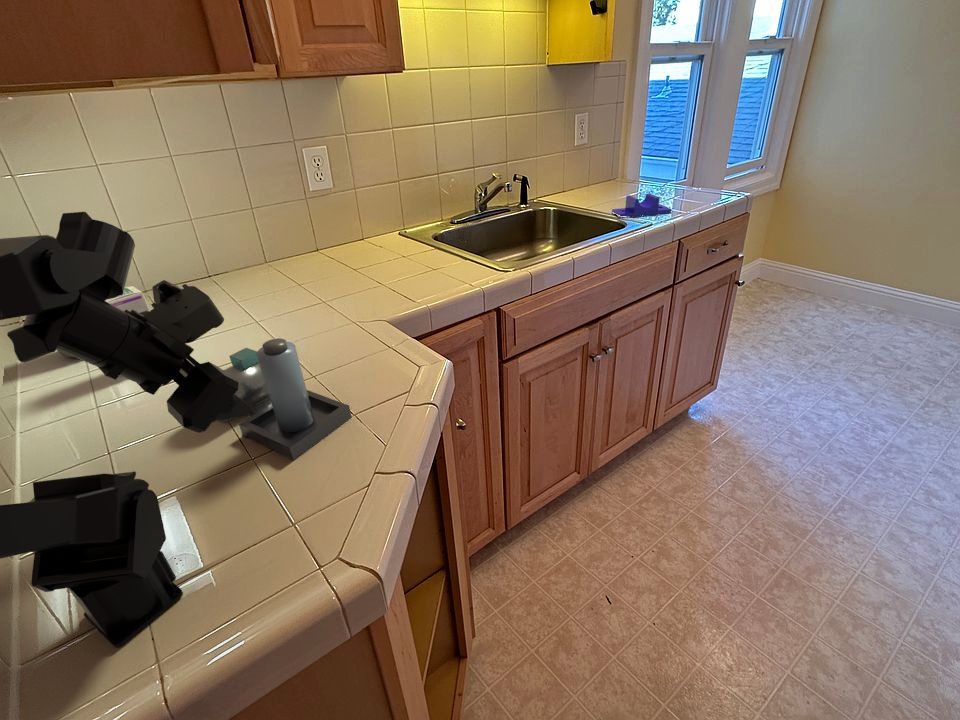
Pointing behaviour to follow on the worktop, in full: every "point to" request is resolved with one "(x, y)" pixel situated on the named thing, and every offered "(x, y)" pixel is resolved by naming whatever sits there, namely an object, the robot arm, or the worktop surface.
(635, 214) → the mounting bracket
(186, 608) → the worktop surface
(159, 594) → the robot arm
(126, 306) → the syrup box
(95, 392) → the worktop surface
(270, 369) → the blue-grey capped bottle
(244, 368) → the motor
